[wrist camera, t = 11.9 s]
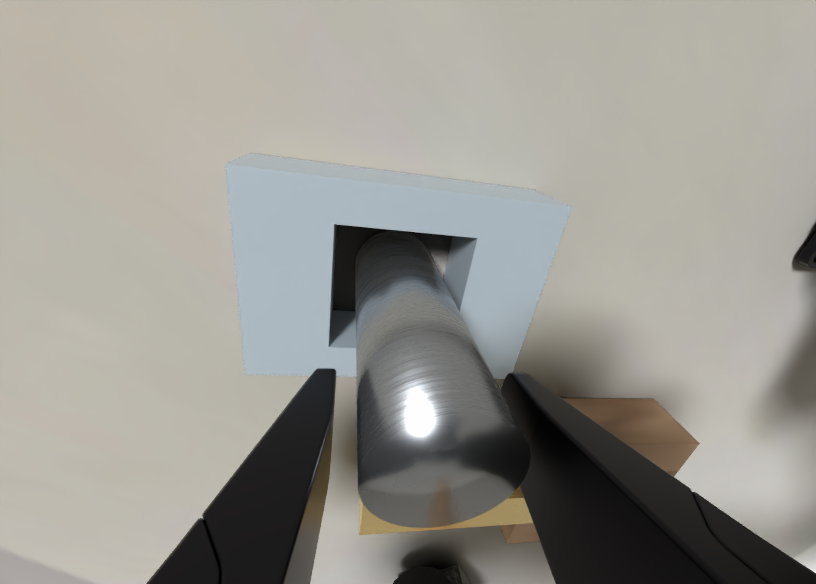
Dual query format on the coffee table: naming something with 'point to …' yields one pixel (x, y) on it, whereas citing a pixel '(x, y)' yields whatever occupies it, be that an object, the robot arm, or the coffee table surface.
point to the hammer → (433, 576)
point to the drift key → (502, 514)
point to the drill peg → (425, 396)
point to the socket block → (628, 440)
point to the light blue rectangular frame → (384, 209)
